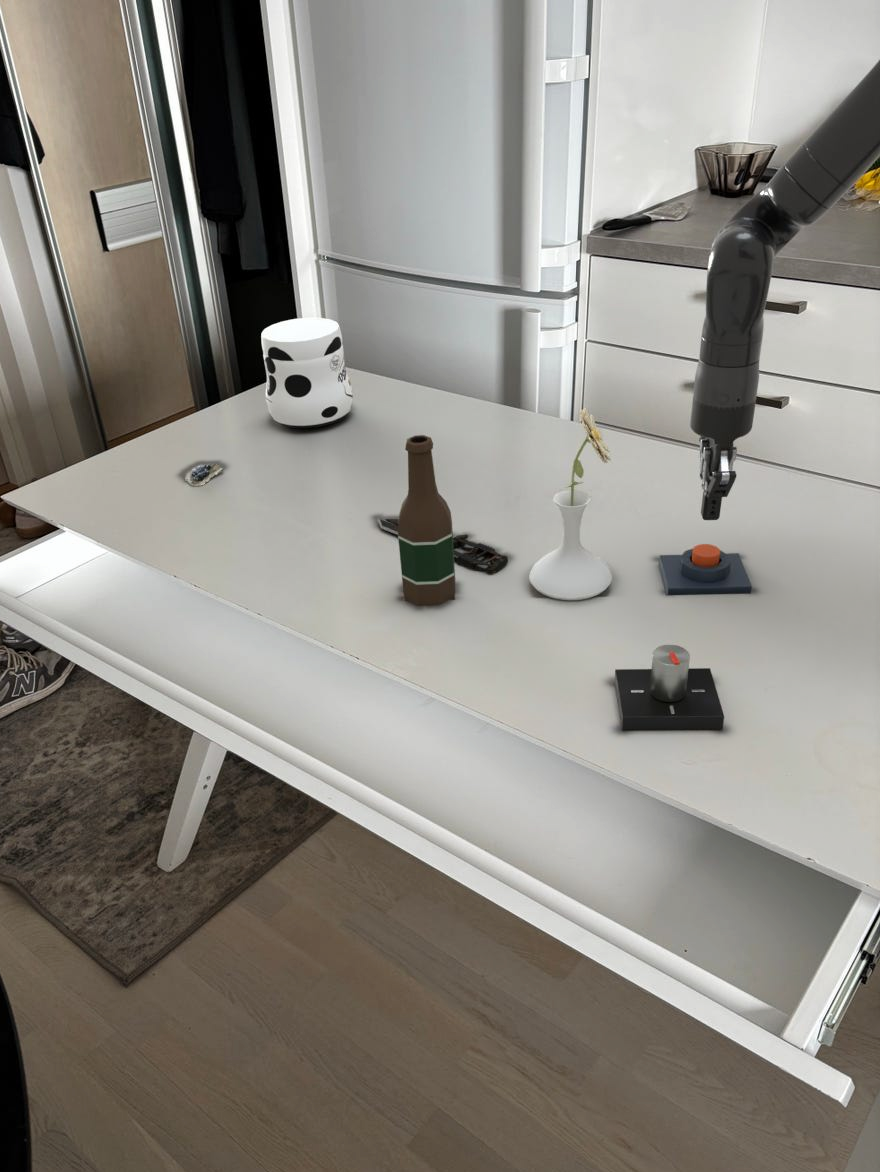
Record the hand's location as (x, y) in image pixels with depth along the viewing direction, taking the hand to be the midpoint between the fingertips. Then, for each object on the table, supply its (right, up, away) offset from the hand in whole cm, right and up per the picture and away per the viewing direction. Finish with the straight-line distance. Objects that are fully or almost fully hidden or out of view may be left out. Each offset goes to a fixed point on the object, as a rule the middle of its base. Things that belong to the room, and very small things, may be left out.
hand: (709, 517), depth 131 cm
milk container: (-59, +28, +67) cm, 94 cm away
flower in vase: (-17, -9, +7) cm, 21 cm away
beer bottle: (-37, -11, +7) cm, 39 cm away
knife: (-36, -2, +19) cm, 41 cm away
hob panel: (-11, -25, -17) cm, 32 cm away
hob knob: (-11, -22, -19) cm, 31 cm away
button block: (+1, -8, +5) cm, 10 cm away
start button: (0, -6, +3) cm, 7 cm away
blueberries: (-77, +13, +47) cm, 92 cm away
